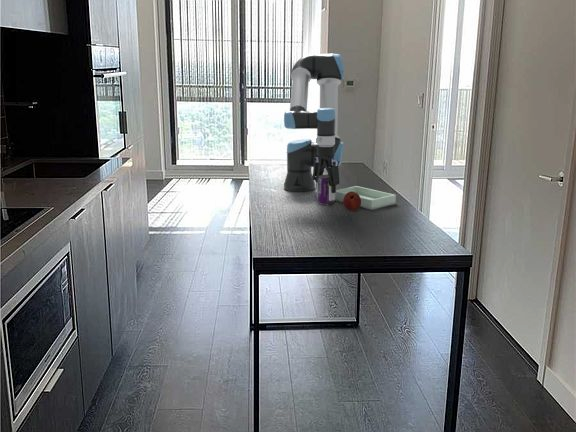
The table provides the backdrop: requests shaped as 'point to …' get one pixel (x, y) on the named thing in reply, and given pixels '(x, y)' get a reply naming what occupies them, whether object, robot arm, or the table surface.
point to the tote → (368, 197)
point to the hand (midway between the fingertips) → (325, 198)
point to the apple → (352, 201)
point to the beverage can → (323, 190)
